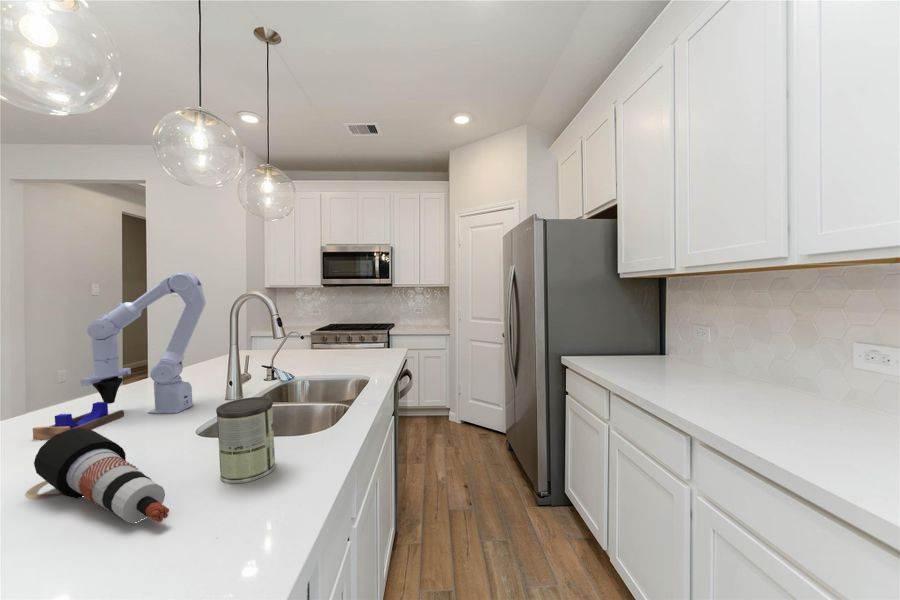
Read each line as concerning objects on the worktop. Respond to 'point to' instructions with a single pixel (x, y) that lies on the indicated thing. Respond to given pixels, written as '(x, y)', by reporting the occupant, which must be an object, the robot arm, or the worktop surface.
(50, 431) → the brown wooden piece
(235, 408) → the coffee can
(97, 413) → the cable clip
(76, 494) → the cable
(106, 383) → the robot arm
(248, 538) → the worktop surface
